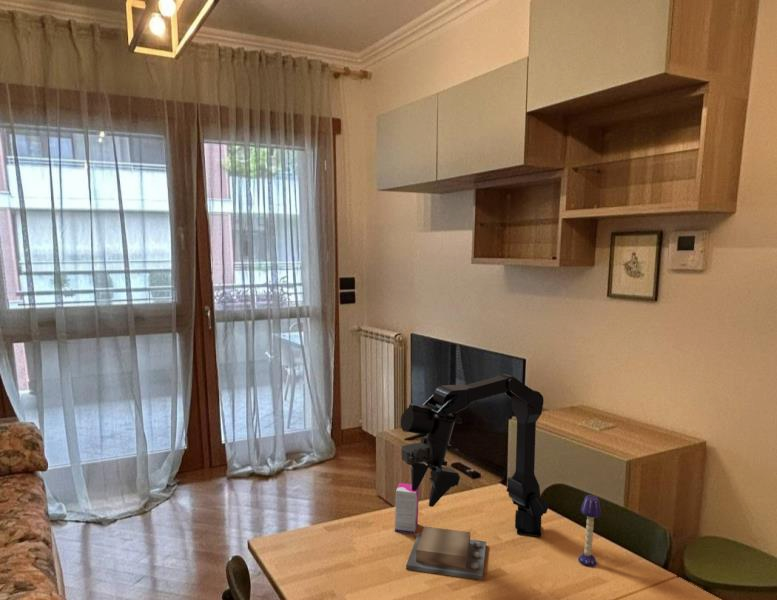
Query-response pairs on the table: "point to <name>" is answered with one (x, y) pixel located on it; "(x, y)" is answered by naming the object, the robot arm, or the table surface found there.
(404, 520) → the supplement box
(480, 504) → the table surface
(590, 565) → the toy lamp
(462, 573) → the walnut brick base
